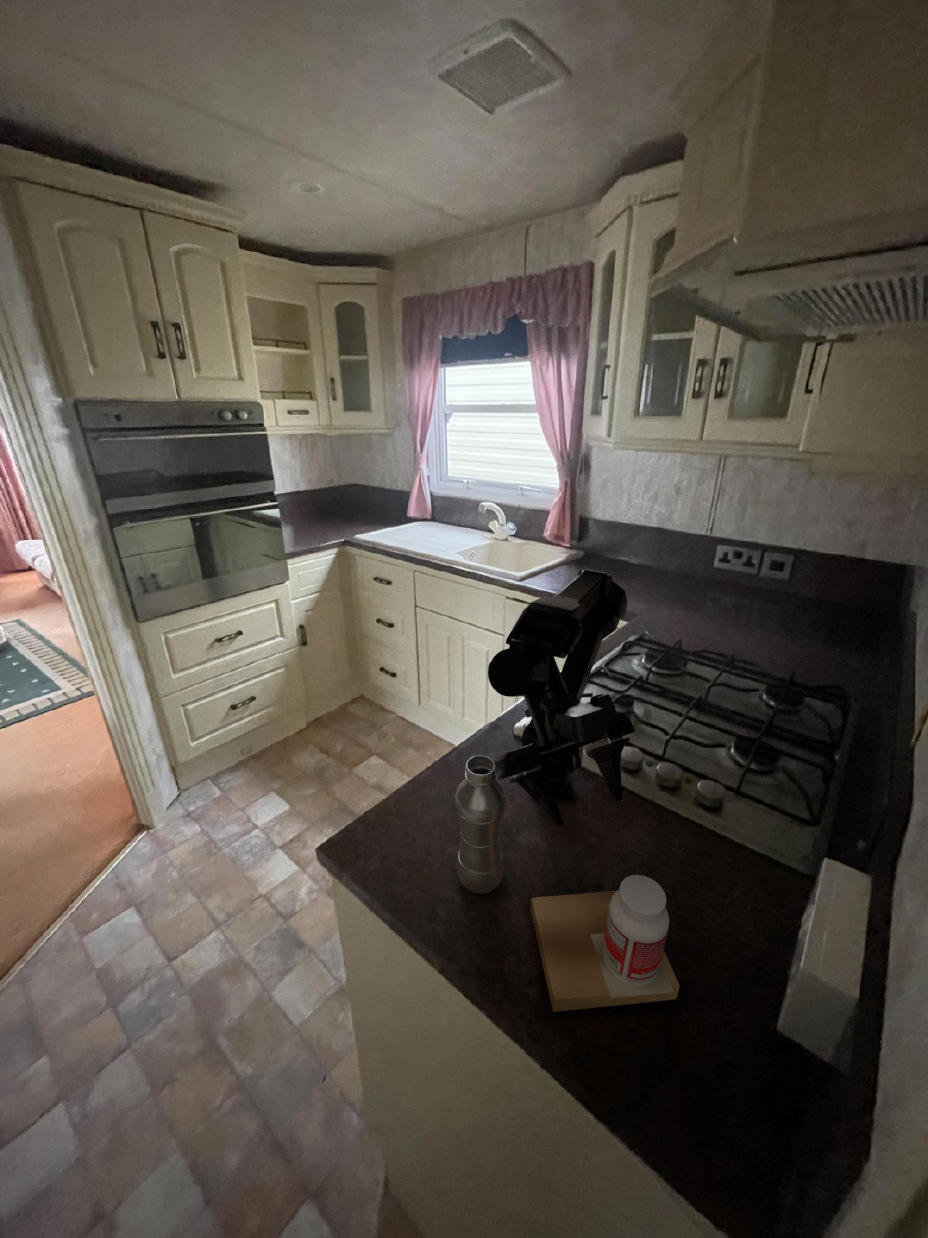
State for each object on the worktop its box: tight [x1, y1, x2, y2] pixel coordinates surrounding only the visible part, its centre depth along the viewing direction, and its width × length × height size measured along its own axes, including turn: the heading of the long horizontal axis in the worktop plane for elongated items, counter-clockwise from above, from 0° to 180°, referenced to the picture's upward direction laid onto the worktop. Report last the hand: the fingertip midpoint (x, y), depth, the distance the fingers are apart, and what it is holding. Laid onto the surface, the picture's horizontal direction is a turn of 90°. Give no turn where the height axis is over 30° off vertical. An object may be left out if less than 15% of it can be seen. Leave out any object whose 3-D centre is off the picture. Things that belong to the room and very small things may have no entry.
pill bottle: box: [603, 874, 670, 986], centre depth 56 cm, size 6×6×11 cm
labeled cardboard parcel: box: [530, 890, 681, 1013], centre depth 61 cm, size 12×14×3 cm
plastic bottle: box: [454, 755, 506, 895], centre depth 67 cm, size 6×7×20 cm
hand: (590, 812), depth 64 cm, fingers open, 9 cm apart
